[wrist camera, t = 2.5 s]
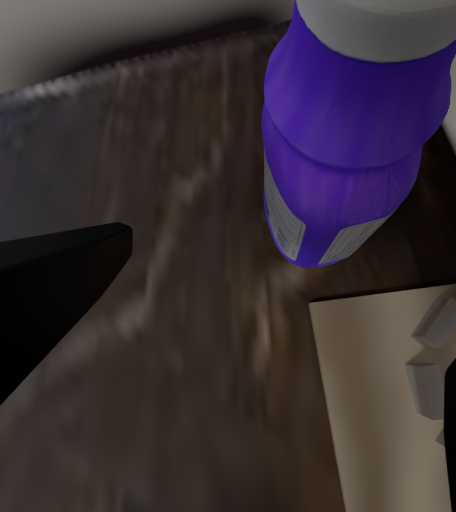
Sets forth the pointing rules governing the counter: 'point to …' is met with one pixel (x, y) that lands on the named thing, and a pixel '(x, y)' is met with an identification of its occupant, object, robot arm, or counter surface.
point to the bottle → (350, 118)
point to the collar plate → (388, 395)
